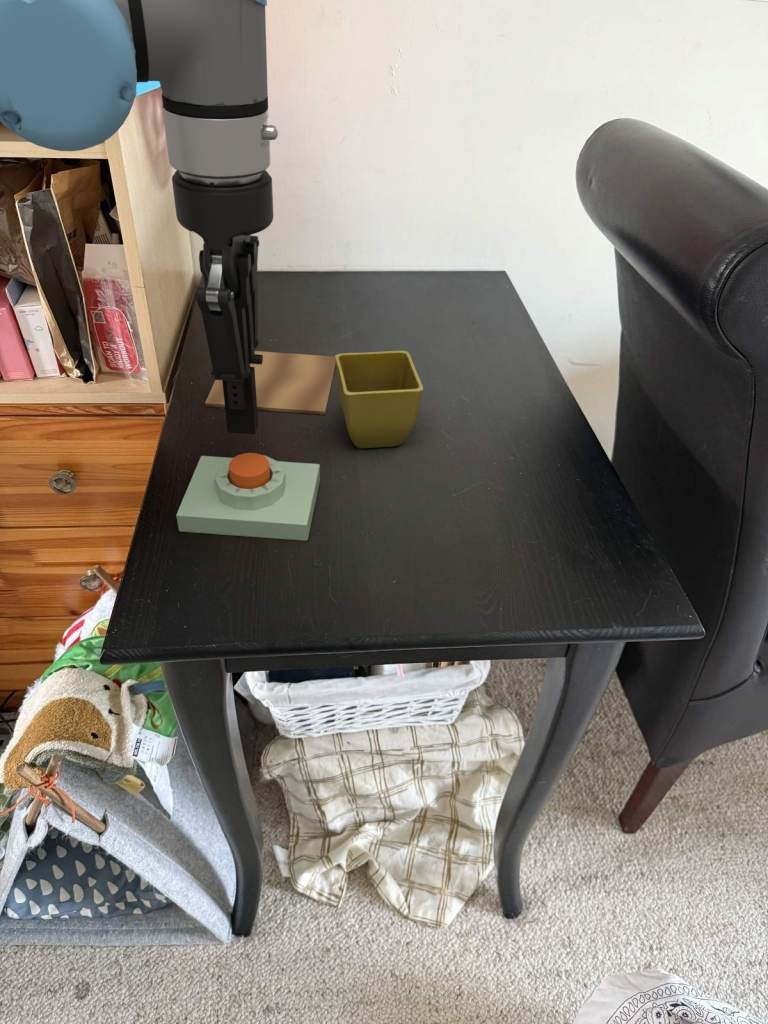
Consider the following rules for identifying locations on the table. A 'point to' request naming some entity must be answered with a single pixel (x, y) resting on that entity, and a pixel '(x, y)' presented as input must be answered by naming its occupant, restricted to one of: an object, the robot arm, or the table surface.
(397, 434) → the flower pot
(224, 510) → the green button base
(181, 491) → the table surface
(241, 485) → the round orange button
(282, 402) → the brown wooden board
